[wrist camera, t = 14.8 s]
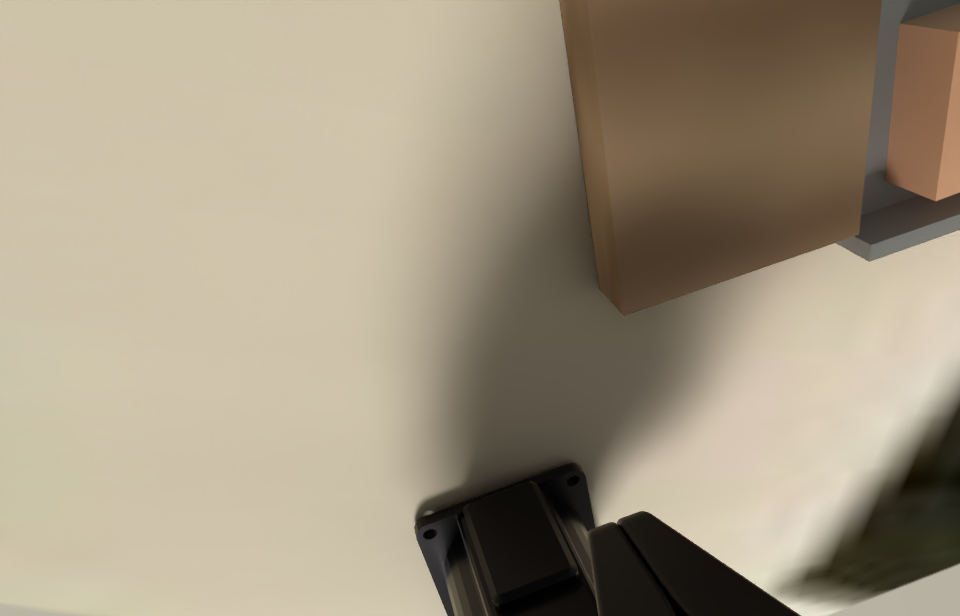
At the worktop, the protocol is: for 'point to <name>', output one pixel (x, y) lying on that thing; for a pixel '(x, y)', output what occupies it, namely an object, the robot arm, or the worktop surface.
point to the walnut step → (717, 134)
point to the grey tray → (887, 207)
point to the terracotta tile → (927, 106)
